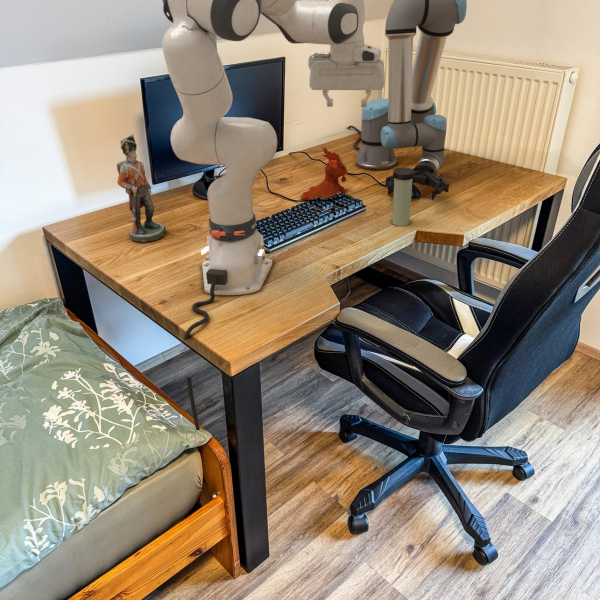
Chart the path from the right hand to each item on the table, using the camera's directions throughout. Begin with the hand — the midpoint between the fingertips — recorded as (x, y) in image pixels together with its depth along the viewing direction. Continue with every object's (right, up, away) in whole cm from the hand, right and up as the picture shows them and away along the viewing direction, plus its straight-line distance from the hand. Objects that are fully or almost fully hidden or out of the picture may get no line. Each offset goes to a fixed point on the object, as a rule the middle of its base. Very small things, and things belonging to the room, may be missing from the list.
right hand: (410, 193), depth 173 cm
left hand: (-21, +20, -18) cm, 35 cm away
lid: (-4, +4, -11) cm, 12 cm away
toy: (-26, +3, +19) cm, 32 cm away
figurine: (-80, -13, -4) cm, 81 cm away
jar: (-3, -9, -3) cm, 10 cm away
